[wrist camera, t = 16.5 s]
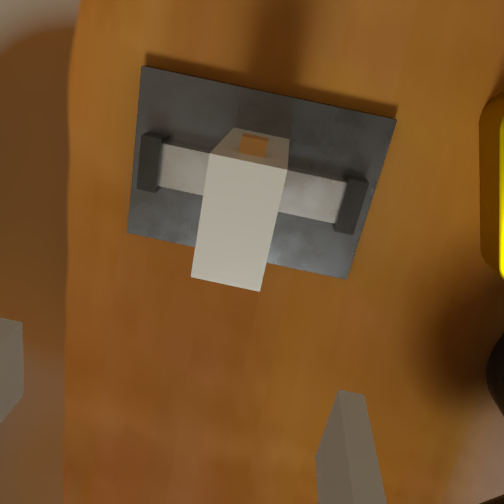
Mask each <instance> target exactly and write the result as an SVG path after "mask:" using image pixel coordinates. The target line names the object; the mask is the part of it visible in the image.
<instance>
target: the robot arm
mask: <svg viewBox="0 0 504 504" xmlns="http://www.w3.org/2000/svg"><path fill="white" fill-rule="evenodd" d="M487 384H488V388H489V391H490V394H491V396H492V398H493V400H494V401H495V403H496V405H497V406H498V408H499V410H500V411H501V413H502V414H503V416H504V335H503V336H502V338H501V339H500V340H499V342H498V343H497V345H496V346H495V348H494V350H493V352H492V354H491V356H490V359H489V362H488V367H487ZM23 395H24V372H23V335H22V322H18V321H13V320H9V319H4V318H0V423H1V422H2V421H3V419H4V418H5V417H6V415H7V414H8V413H9V412H10V411H11V410H12V408H13V407H14V406H15V405H16V403H17V402H18V401H19V400H20V398H21V397H22V396H23ZM316 473H317V492H318V504H387V502H386V497H385V492H384V488H383V483H382V478H381V473H380V469H379V464H378V459H377V454H376V449H375V445H374V440H373V435H372V430H371V426H370V421H369V416H368V411H367V407H366V402H365V397H364V395H362V394H357V393H353V392H348V391H343V390H339V389H338V392H337V395H336V398H335V401H334V404H333V407H332V410H331V413H330V416H329V419H328V422H327V424H326V427H325V430H324V433H323V436H322V439H321V442H320V445H319V448H318V451H317V454H316ZM480 504H504V495H501V496H498V497H496V498H493V499H490V500H488V501H485V502H482V503H480Z"/></svg>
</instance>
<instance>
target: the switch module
mask: <svg viewBox="0 0 504 504" xmlns="http://www.w3.org/2000/svg"><path fill="white" fill-rule="evenodd" d="M288 154H289V139H287V138H282V137H277V136H272V135H268V134H263V133H258V132H253V131H249V130H244V129H239V128H233V129H232V130H231V131H230V132H229V133H228V134H227V135H226V136H225V137H224V139H223V140H222V141H221V142H220V143H219V144H218V145H217V146H216V147H215V148H214V149H213V150H212V151H211V152H210V154H209V161H208V167H207V174H206V180H205V187H204V194H203V200H202V207H201V213H200V220H199V227H198V233H197V240H196V246H195V253H194V259H193V266H192V273H191V277H193V278H198V279H203V280H207V281H212V282H217V283H222V284H226V285H231V286H236V287H240V288H245V289H250V290H254V291H259V292H260V289H261V284H262V280H263V275H264V271H265V267H266V262H267V258H268V253H269V249H270V245H271V240H272V236H273V231H274V227H275V223H276V218H277V214H278V209H279V205H280V201H281V196H282V192H283V187H284V183H285V179H286V174H287V170H288Z"/></svg>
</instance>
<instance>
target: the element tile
mask: <svg viewBox="0 0 504 504" xmlns="http://www.w3.org/2000/svg"><path fill="white" fill-rule="evenodd" d="M479 170H480V245H481V254H482V257H483V259H484V260H485V262H486V263H487V264H488V265H489V266H490V267H491V268H492V269H493V271H494V272H495V273H496V274H497V275H498V276H499V277H500V278H501V279H502V280H503V281H504V92H502V93H500V94H498V95H497V96H495V97H493V98H492V99H491V100H490V101H489V102H488V103H487V104H486V105H485V107H484V109H483V111H482V114H481V116H480V120H479Z"/></svg>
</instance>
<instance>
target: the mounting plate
mask: <svg viewBox="0 0 504 504" xmlns="http://www.w3.org/2000/svg"><path fill="white" fill-rule="evenodd" d="M396 122H397V120H396V119H394V118H389V117H385V116H380V115H375V114H370V113H366V112H361V111H356V110H352V109H347V108H342V107H338V106H333V105H328V104H323V103H319V102H314V101H309V100H305V99H300V98H295V97H291V96H286V95H281V94H276V93H272V92H267V91H262V90H258V89H253V88H248V87H244V86H239V85H234V84H229V83H225V82H220V81H215V80H211V79H206V78H201V77H197V76H192V75H187V74H182V73H178V72H173V71H168V70H164V69H159V68H154V67H150V66H141V78H140V90H139V102H138V114H137V126H136V137H135V149H134V161H133V173H132V185H131V197H130V209H129V220H128V232H127V233H132V234H136V235H141V236H146V237H150V238H155V239H160V240H164V241H169V242H174V243H178V244H183V245H188V246H192V247H195V246H196V240H197V233H198V227H199V220H200V213H201V207H202V200H203V194H204V187H205V180H206V174H207V167H208V161H209V154H210V152H211V151H212V150H213V149H214V148H215V147H216V146H217V145H218V144H219V143H220V142H221V141H222V140H223V139H224V137H225V136H226V135H227V134H228V133H229V132H230V131H231V130H232V129H233V128H239V129H244V130H249V131H253V132H258V133H263V134H268V135H272V136H277V137H282V138H287V139H289V154H288V170H287V174H286V179H285V183H284V187H283V192H282V196H281V201H280V205H279V209H278V214H277V218H276V223H275V227H274V231H273V236H272V240H271V245H270V249H269V253H268V258H267V263H272V264H276V265H281V266H286V267H290V268H295V269H300V270H304V271H309V272H314V273H318V274H323V275H328V276H332V277H337V278H342V279H347V276H348V273H349V270H350V267H351V264H352V261H353V257H354V254H355V251H356V248H357V245H358V242H359V238H360V235H361V232H362V229H363V226H364V223H365V220H366V216H367V213H368V210H369V207H370V204H371V201H372V198H373V194H374V191H375V188H376V185H377V182H378V179H379V175H380V172H381V169H382V166H383V163H384V160H385V157H386V153H387V150H388V147H389V144H390V141H391V138H392V134H393V131H394V128H395V125H396Z"/></svg>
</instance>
